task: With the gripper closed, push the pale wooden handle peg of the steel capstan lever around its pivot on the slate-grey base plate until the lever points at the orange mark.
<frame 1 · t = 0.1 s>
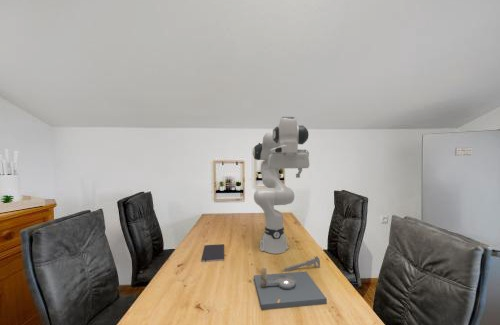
hand: (288, 177, 107), 48 cm above the table, fingers open, 8 cm apart
caliper: (301, 269, 113), on the table
notebook: (213, 254, 133), on the table
base plate: (286, 290, 95), on the table
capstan: (277, 276, 95), point 6 cm above the table, hinge at 0.0°
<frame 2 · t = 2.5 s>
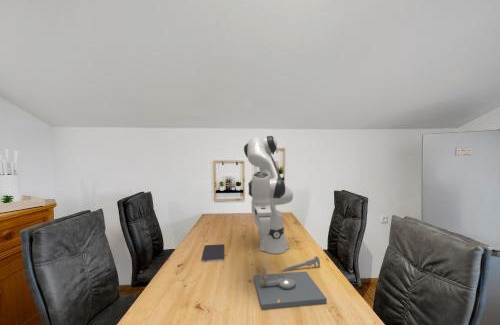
hand: (261, 237, 101), 20 cm above the table, fingers closed
nothing on the table moved.
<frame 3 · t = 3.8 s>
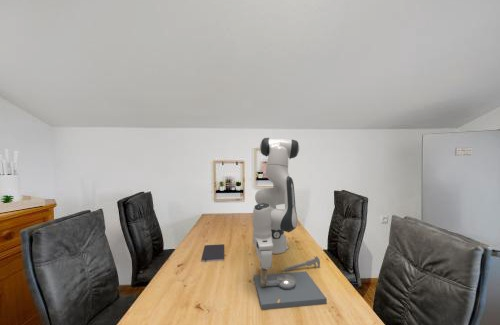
hand: (262, 268, 101), 6 cm above the table, fingers closed
nothing on the table moved.
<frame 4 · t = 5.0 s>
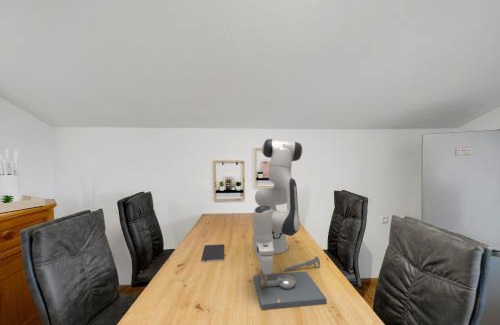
hand: (263, 274, 97), 6 cm above the table, fingers closed
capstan: (278, 276, 95), point 6 cm above the table, hinge at 2.3°, touching gripper
everything else where it was.
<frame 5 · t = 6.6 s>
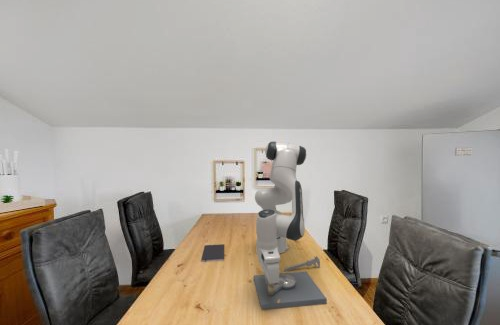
hand: (267, 281, 92), 5 cm above the table, fingers closed
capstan: (280, 279, 93), point 6 cm above the table, hinge at 36.5°, touching gripper
everything else where it was.
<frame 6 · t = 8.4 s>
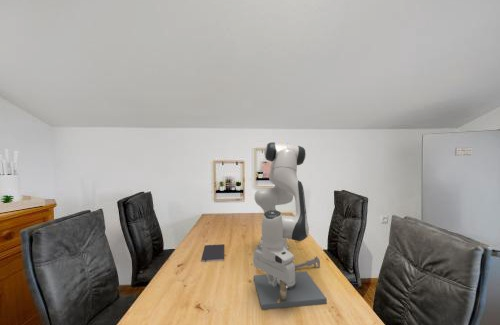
hand: (272, 284, 90), 5 cm above the table, fingers closed
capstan: (285, 280, 92), point 6 cm above the table, hinge at 67.2°
everything else where it was.
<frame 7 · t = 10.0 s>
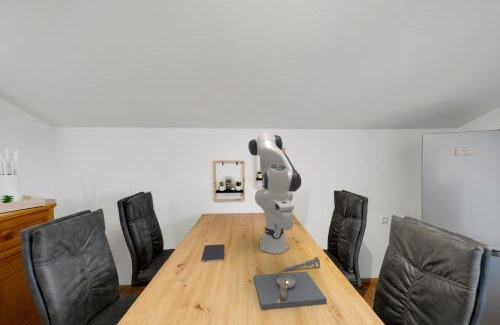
hand: (277, 232, 97), 24 cm above the table, fingers closed
nothing on the table moved.
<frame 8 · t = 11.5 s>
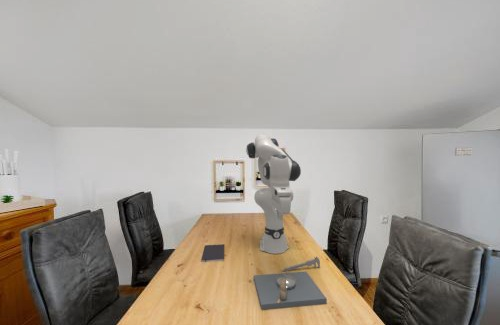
hand: (279, 219, 101), 29 cm above the table, fingers closed
nothing on the table moved.
at the end: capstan at +67° (first picture: +0°); caliper moved 0.6 cm from its start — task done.
